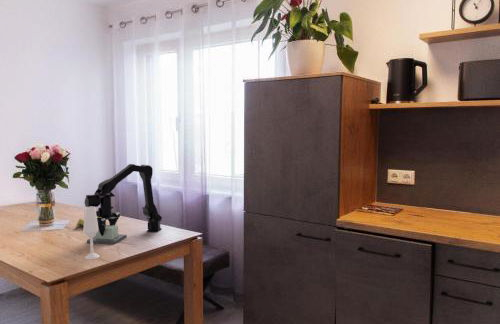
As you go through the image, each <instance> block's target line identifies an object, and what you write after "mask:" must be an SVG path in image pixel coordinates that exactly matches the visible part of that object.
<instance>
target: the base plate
mask: <svg viewBox="0 0 500 324" xmlns="http://www.w3.org/2000/svg"><path fill="white" fill-rule="evenodd" d="M127 235H128V234H120V233H118V237H116V238H114V239H98V238H96V235H95V236H93V244H101V245H102V244H103V245H115V244H117V243H119V242H121V241H123V240H125V239H126V238H127ZM86 243H88V244H90V238H88V239H87V240H86Z"/></svg>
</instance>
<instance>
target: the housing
mask: <svg viewBox="0 0 500 324" xmlns="http://www.w3.org/2000/svg"><path fill="white" fill-rule="evenodd" d="M118 234H119V225H117V224H116V225H110V224H106V227H105V231H104V235H103V236H101V234H100V232H99V230H98V232H97V233H96V234H95V236H96V238H98V239H114V238H116V237H118Z"/></svg>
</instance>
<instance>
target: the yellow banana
mask: <svg viewBox="0 0 500 324" xmlns="http://www.w3.org/2000/svg"><path fill="white" fill-rule="evenodd" d="M97 218H101V217H97ZM82 226H84V218H79V219H78V221H77V223H76V226H75V227H77V228H80V227H82Z"/></svg>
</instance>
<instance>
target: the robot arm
mask: <svg viewBox="0 0 500 324" xmlns="http://www.w3.org/2000/svg"><path fill="white" fill-rule="evenodd" d="M153 170H154V169H153V167H152V166H151V165H149V164H140V165H137V164H135V163H134V164H133V163H129V164H127V166H126V167H124V168H123V169H121V170H120V171H119V172H118V173H116V174H115V175H113V176H112V177H110V178H108V179H106V180H105V179H104V181H101V182H100V183H98V188H97V189H96V190H95V191H94V194H85V198H84V206H85V207H90V206H94V207H95V208H98V207H99V206H100V207H99V208H98V209H97V210H96V215H97V217H101V218H97V222H98V229H99V232H100V234H101V236H103V235H104V231H105V227H106V225H107V221H108V223H109V224H108V225H116V226H117V222H118V220H119V219H120V218H121V213H120V212H119V211H112V210H113V209H114V206H113V205H112V197H113V198H114V197H116V195H115V194H114V193H113V190H115V188H116V186H117V185H118V184H119V183H120V182H122V181H123V180H124V179H125V178H127V177H128V176H130V175H131V174H132V173H133V172H137V173H138V174H139V176H140V178H141V181H142V185H143V187H142V188H143V193H144V194H143V195H144V203H145V205H144V206H143V207H142V208H141V209H142V214H143V215H144V217H146V220H147V221H148V222H147V232H154V233H155V232H159V231H161V230H162V227H161V221H162V219H163V217H162V215H160V214H159V213H158V209H157V206H156V205H155V202H154V194H153V187H152V186H153V185H152V177H153V173H154V171H153Z"/></svg>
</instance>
